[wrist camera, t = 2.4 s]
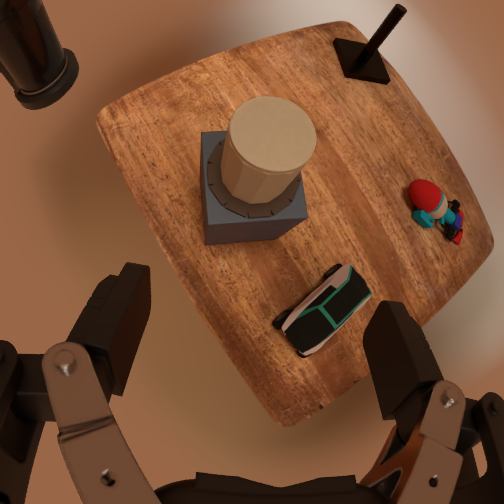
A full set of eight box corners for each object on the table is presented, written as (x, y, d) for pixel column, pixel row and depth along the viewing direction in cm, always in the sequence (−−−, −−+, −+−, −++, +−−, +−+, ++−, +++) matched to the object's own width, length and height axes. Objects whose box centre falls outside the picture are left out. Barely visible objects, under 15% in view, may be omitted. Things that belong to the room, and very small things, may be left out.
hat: (211, 221, 26) (216, 192, 19) (204, 134, 27) (208, 83, 19) (304, 214, 28) (342, 187, 20) (291, 132, 29) (319, 86, 21)
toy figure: (456, 211, 48) (406, 167, 44) (476, 209, 43) (427, 162, 39) (448, 249, 47) (395, 209, 43) (469, 250, 42) (418, 206, 38)
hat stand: (344, 77, 45) (388, 17, 30) (332, 42, 46) (367, -17, 31) (386, 84, 47) (434, 34, 31) (372, 50, 48) (412, -1, 32)
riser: (205, 245, 38) (207, 225, 26) (199, 176, 39) (201, 131, 27) (276, 239, 40) (308, 217, 28) (268, 172, 41) (293, 129, 29)
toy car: (361, 295, 41) (382, 295, 35) (298, 356, 38) (312, 365, 33) (336, 262, 41) (355, 257, 35) (269, 322, 38) (280, 327, 33)
